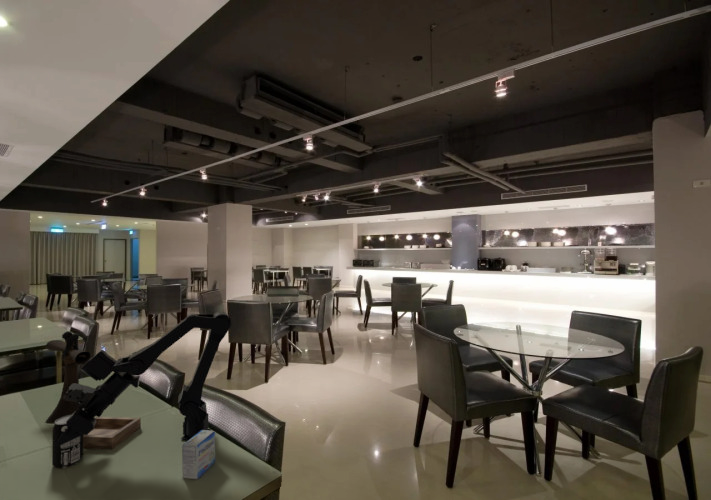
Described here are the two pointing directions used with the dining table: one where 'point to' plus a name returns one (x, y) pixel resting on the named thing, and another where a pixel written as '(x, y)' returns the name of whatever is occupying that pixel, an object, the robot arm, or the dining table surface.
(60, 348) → the flared trumpet-armed statue
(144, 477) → the dining table surface
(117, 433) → the tray
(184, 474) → the medicine box
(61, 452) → the beverage can
